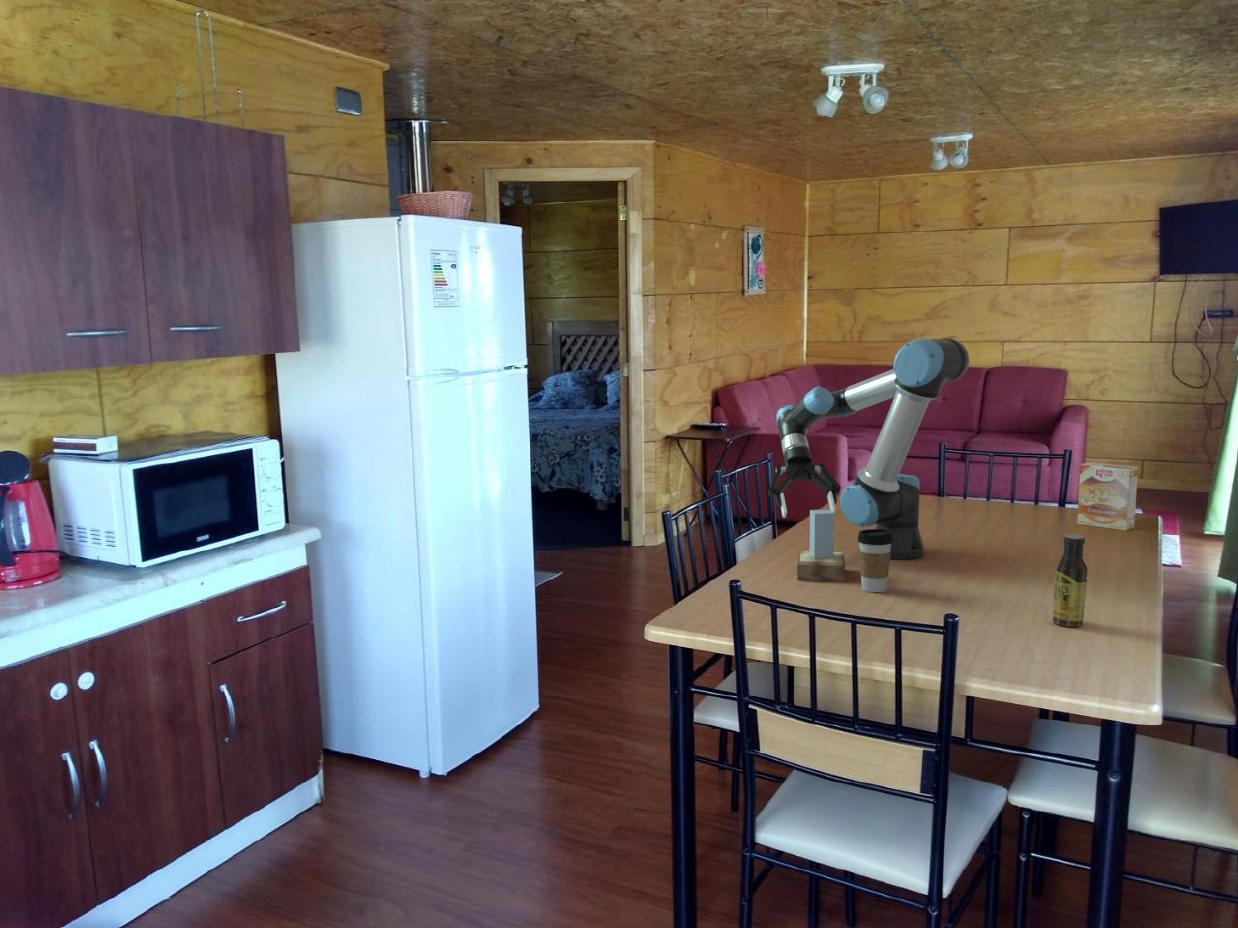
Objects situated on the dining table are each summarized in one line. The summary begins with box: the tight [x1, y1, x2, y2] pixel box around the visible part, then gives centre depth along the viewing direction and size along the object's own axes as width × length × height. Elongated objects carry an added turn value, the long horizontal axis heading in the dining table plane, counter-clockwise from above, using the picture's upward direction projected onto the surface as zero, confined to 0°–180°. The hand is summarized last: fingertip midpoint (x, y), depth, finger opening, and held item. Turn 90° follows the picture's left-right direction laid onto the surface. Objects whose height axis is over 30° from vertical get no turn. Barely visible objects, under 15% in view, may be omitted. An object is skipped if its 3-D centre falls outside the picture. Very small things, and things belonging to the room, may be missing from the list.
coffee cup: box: [857, 528, 893, 593], centre depth 232 cm, size 8×8×15 cm
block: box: [809, 509, 835, 559], centre depth 245 cm, size 5×5×12 cm
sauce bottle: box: [1052, 533, 1088, 628], centre depth 202 cm, size 7×6×20 cm
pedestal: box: [796, 550, 846, 583], centre depth 247 cm, size 12×12×5 cm
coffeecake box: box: [1076, 461, 1139, 531], centre depth 295 cm, size 15×7×20 cm, turn 42°
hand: (809, 514), depth 256 cm, fingers open, 13 cm apart
